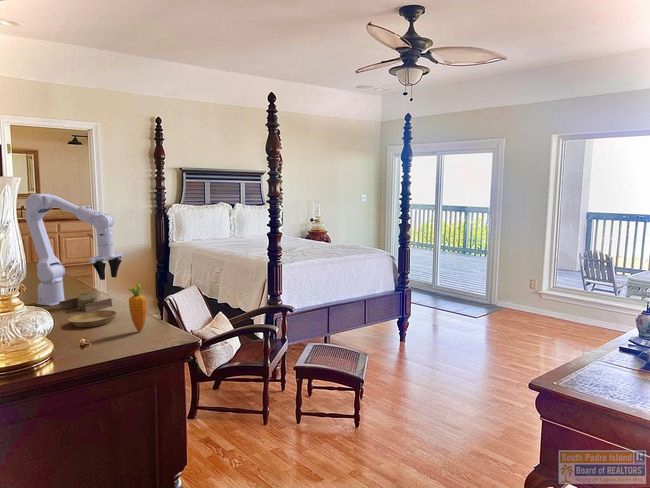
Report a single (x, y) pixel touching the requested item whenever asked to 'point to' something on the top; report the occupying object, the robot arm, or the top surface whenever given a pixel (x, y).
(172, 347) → the top surface
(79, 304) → the stone block
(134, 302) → the carrot
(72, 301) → the chute
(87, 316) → the plant saucer
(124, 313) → the top surface
